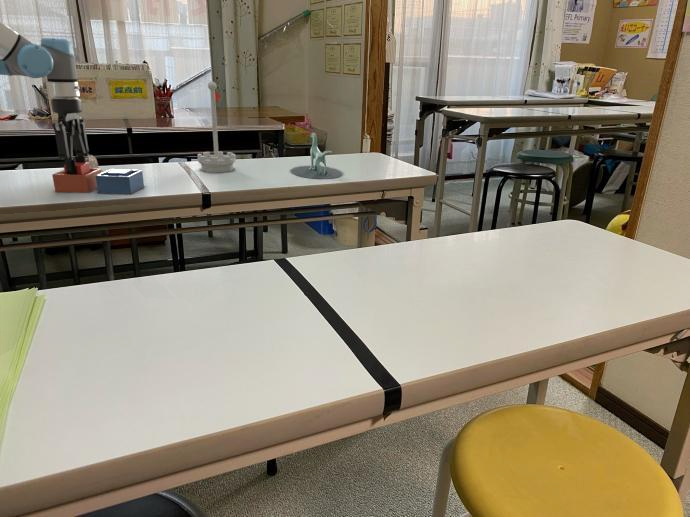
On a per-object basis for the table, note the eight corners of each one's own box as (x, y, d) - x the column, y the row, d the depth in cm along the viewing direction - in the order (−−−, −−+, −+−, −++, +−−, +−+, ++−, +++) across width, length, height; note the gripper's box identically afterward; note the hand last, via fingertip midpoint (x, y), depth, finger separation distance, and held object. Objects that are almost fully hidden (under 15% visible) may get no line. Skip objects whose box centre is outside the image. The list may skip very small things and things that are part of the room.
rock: (89, 183, 159) (85, 160, 157) (78, 175, 170) (74, 153, 167) (109, 181, 163) (105, 158, 160) (97, 173, 173) (94, 152, 171)
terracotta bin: (55, 191, 149) (52, 174, 147) (72, 184, 158) (69, 167, 156) (88, 192, 149) (85, 175, 147) (103, 185, 158) (101, 168, 156)
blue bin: (97, 193, 149) (95, 175, 147) (112, 185, 158) (110, 169, 156) (131, 194, 149) (128, 176, 147) (144, 186, 158) (142, 170, 156)
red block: (66, 182, 150) (63, 165, 149) (75, 178, 155) (72, 162, 153) (83, 182, 150) (80, 165, 148) (91, 179, 155) (88, 162, 153)
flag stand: (224, 174, 177) (218, 82, 166) (191, 171, 181) (184, 81, 170) (242, 167, 189) (238, 81, 178) (211, 164, 192) (205, 80, 182)
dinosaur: (353, 178, 177) (354, 139, 172) (304, 181, 170) (304, 141, 166) (328, 164, 198) (328, 130, 194) (283, 167, 192) (283, 131, 187)
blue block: (109, 189, 151) (107, 172, 149) (117, 185, 155) (115, 169, 154) (126, 190, 151) (124, 173, 149) (133, 186, 155) (131, 169, 154)
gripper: (61, 100, 136) (75, 187, 144) (94, 96, 153) (104, 174, 161) (33, 99, 136) (48, 186, 144) (69, 95, 153) (81, 173, 161)
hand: (78, 179), depth 152 cm, fingers closed on red block, 5 cm apart
